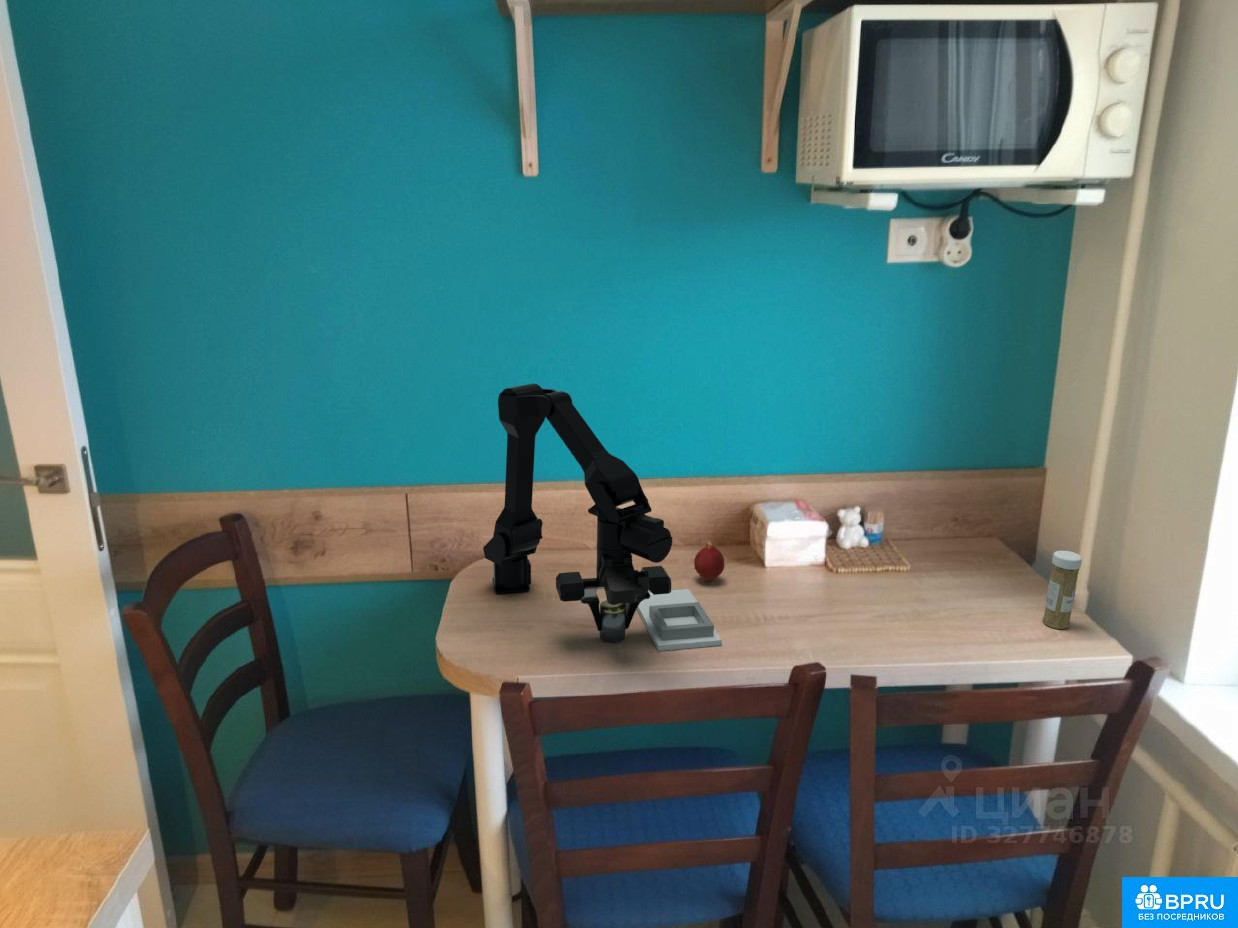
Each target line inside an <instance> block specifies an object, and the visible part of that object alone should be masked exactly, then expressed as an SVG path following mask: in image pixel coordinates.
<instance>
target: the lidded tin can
mask: <svg viewBox="0 0 1238 928" xmlns="http://www.w3.org/2000/svg"><path fill="white" fill-rule="evenodd" d="M599 610H600V619H601V631H599V639H600V641H601V642H604V643H606V644H613V645H614V644H620V643H622V642H624V641H625V640H626V630H627V629H626V604H625V603H621V604H617V605H611V604H609V603H608V602H607V599H606V600H604V601H601V602H600V603H599Z"/></svg>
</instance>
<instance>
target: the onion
mask: <svg viewBox="0 0 1238 928" xmlns="http://www.w3.org/2000/svg"><path fill="white" fill-rule="evenodd" d="M705 545H706V546H705V547H703V548H701V549H700V550H698V552H697V554H695V556H694V561H693V564H694V569H695V571H696V573H697V574H698V575H699V576H700V577H702V579H704V580H705V582H712V581H713V580H715V579H717V578H718V577H719V576H721V574H722V573H723V571H725V558H724V555H723V554H722V552H721V551H720V550H719V549H718V548H717V547H716V546H714V545H713V543H712V542H707V543H706V544H705Z"/></svg>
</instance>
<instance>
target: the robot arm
mask: <svg viewBox="0 0 1238 928" xmlns="http://www.w3.org/2000/svg"><path fill="white" fill-rule="evenodd" d="M497 405H498V406H497V407H498V421H500V423H501V425H502V427H503V429H504V430H505V432H506V436H507V437H506V458H505V459H506V460H505V461H506V462H505V485H504V507H503V508H502V511H501V512H500V514H499V516H497V519H496V520H495V525H494V529H493V534H492V537H491V539H490V540H488V542H487V543H486V544H485V545H484V546H483V547H482V551H483V555H484V558H485V560H488V561H490V562H492V563H493V564H492V565H493V567H492V569H493V577H492V585H493V589H494V593H495V594H497V595H499V594H511V593H523V592H524V593H525V592H530V589H531V588H530V585H531V584H532V564H531V561H530V559H529V558H528V556H530V555H534V554H536V551H537V549H538V546H539V545H540V541H541V540H542V539H543V534H542V531H543V530H542V529H543V528H542V527H543V525H544V524H543V522H544V521H543V520H542V519H541V518H538V516H537V514H536V513H535V512H534V510H533V491H534V490H533V489H534V469H535V453H536V436H537V434H538V432H539V430H540V429H541V427H542V425H543V423H544V422H545V419H547V421H548V422H549V424H550V425H551V426H552V428H553V430H554V431H555V432H556V434H557V436H558V437H559V438H560V439H561V441H562V442H563V443H564V445H565V447H566V448H567V449H568V451H569V452H570V454H571V455H572V456H573V457H574V459H575V461H576V462H577V463H578V464H579V466H580V468H581V469H582V471H583V476H584V486H585V487H586V490H587V491H588V494H589V495H590V498H591V499H592V501H593V503H594V504H593V505H592V506H591V507H590V508H588V509H587V512H588V514H589V515H592V516H596V565H595V566H596V568H595V569H596V570H595V572H596V577H589V578H583V577H582V576H581V573H580V571H568V572H559V573H558V574H557V575H556V577H555V588H556V591H557V595H558V598H559V600H560V601H562V602H576V601H577V602H578V601H580V602H581V604H584V605H588V606H589V609H590V612H591V613H592V616H593V620H594V623H595V625H596V629H597V631H598V632H600V631H601V619H600V603H601V602H600V599H599V596H598V594H597V592H598V591H597V590H604V592H605V597H606V600H607V602H608V603H609V604H611V605H617V604H621V603H625V604H626V630H628V629H629V627H630V625H631V623H632V621H633V618H634V616H635V613H636V611H637V607H638V605H639V604H640V602H642V601H643V600H645V599H649V598H650V594H649V592H651V593H652V594H654V595H657V594H669V593H670V592H671V590H672V580H671V579H672V578H671V576H670V575H669V574H668V571H666V569H665V568H664V566H662V565H654V566H653V565H652V566H642V567H641V569H640V571H639V570H638V569H635V567H634V565H633V555H634V556H637V557H639V558H642V559H645V560H646V561H649V562H652V563H655V564H657V563H661V562H662V561H664V560H665V559H666V558H667V556H668V555H669V553H670V551H671V550H672V545H673V537H672V535H671V531H670V530H669V528H666V527H665V521H664V519H661V518H658V517H653V516H650V515H647V514H649V513H651V512H652V507H651V505H650V503H649V499H648V498H647V496H646V495H645V492H644V489H643V488H642V484H641V483H640V480H639V478H638V475H637V474H636V472H635V471H634V470H633V469H631V467H629V465H628V464H626V462H625V461H624V460H622V459H621V458H618V457H617V456H614V455H612V454H611V453H609V452H610V451H608V450H607V449H606V448H605V446H604V445H603V444H602V443H601V441H600V439H599V438H598V437H597V435H595V433H594V431H593V430H592V428H591V427H590V426H589V424H588V423H587V422H586V420H585V419H584V417H583V416H582V415H581V413H580V412H579V411H578V409H577V408H576V406H575V405H574V404H573V399H572V397H571V395H570V394H569V393H568V392H565V391H563V390H560V391H558V390H556V389H553V388H542V386H541V385H539V384H538V383H534V382H533V383H529V384H522V385H518V386H517V385H516V386H511V387H507V388H504V389H503V390H502V391H501V392H499V393H498V398H497ZM631 502H633V503H634V504H631V505H628V506H625V507H621V506H622V505H625V504H628V503H631ZM619 506H620V507H621V508H620V507H619Z"/></svg>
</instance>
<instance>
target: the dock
mask: <svg viewBox="0 0 1238 928" xmlns="http://www.w3.org/2000/svg"><path fill="white" fill-rule="evenodd" d="M648 592H649V594H650V598H649V599H645V600H643V601H642V602H640V604H639V605H638V607H637V609H636V611H637V612H638V615H640V618H641V620H642V621H643V625H644V626H645V628H646V630H647V632H648V634H649V636H650V638H651V639H652V641H653V644H654V645H655V647H656V650H657V651H658V652H663V651H674V650H684V649H694V648H695V649H696V648H705V647H717V646H722V645H723V643H722V642H723V641H722V638H721V637H720V635H719V633H718V632H717V630H716V629H715V625H714V624H713V622H712V620H711V619H710V617H709V616H708V614H707V612H706V610H705V609H704V608H703V607H702V605H701V604H700V602H699V601H697V599H696V598H695V597H694V595H693V593H692V591H691V590H690V589H689V588H685V589H671V592H670V593H669V594H657V595H654V594H652V593H651V592H650V591H648Z"/></svg>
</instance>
